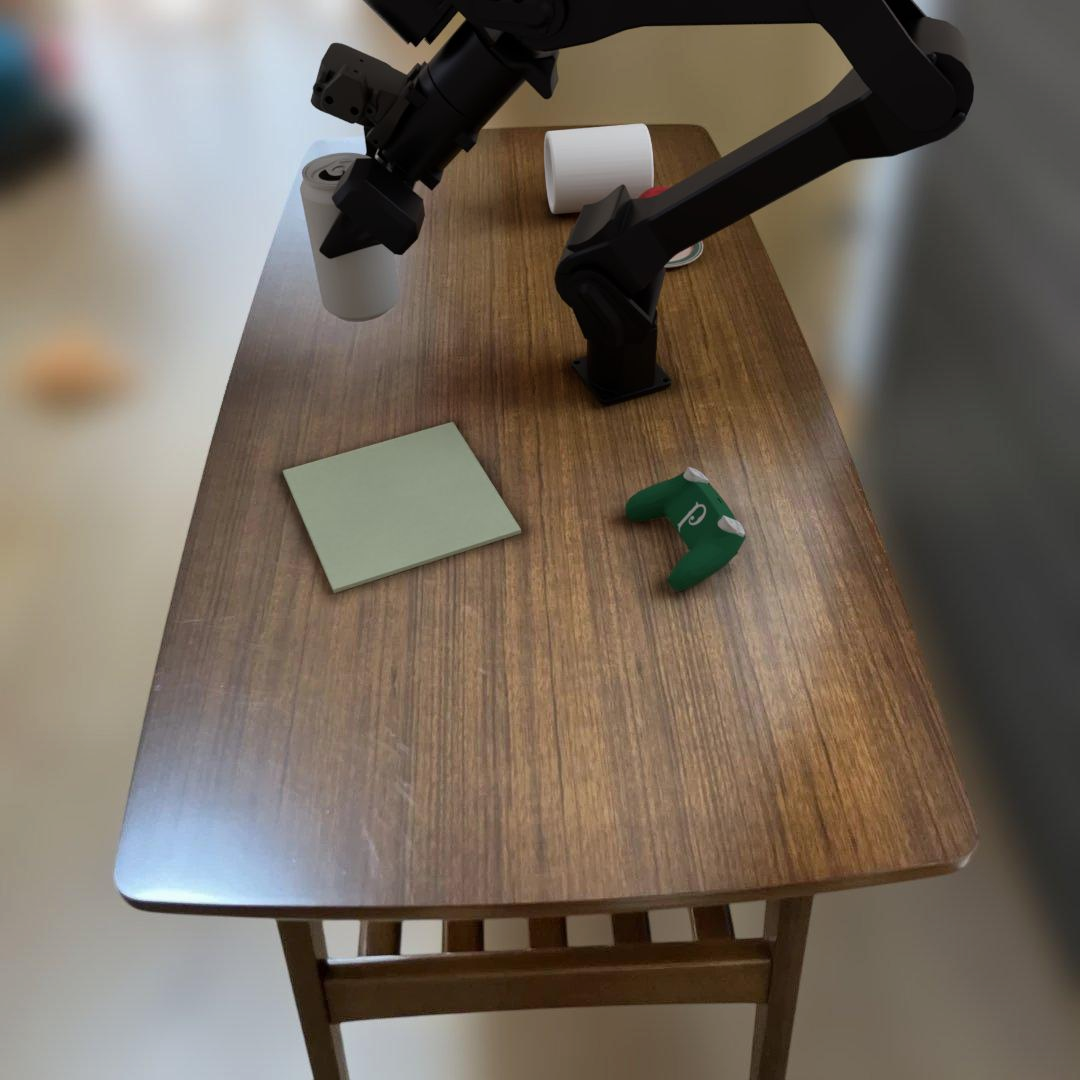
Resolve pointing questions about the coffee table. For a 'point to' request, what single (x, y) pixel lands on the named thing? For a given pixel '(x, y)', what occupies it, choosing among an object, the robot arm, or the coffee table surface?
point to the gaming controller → (691, 524)
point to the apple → (685, 255)
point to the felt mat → (397, 505)
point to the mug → (596, 164)
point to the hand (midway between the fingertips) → (333, 232)
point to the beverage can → (352, 279)
